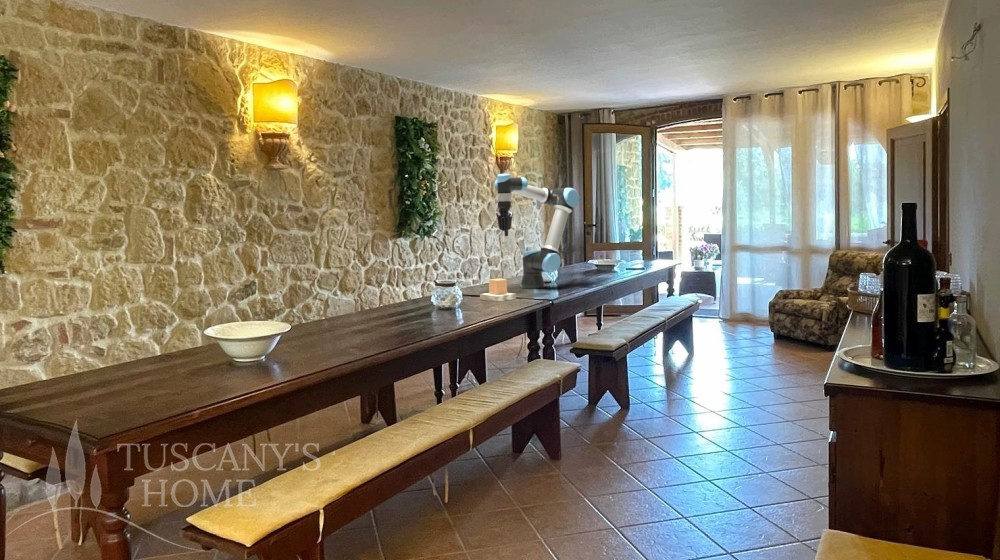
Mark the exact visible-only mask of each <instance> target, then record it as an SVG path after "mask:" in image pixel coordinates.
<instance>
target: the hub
mask: <svg viewBox="0 0 1000 560" xmlns="http://www.w3.org/2000/svg"><path fill="white" fill-rule="evenodd" d="M479 299H480V300H481V301H489V302H495V303H500V302H505V301H512V300H517V294H516V293H514V292H513V293H512V292H507V294H502V295H492V294H489V292H488V293H487V292H486V293H480V294H479Z"/></svg>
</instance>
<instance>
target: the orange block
mask: <svg viewBox="0 0 1000 560" xmlns="http://www.w3.org/2000/svg"><path fill="white" fill-rule="evenodd" d="M488 289H489V290H488V293H489V294H492V295H502V294H507V293H508V279H506V278H494V279H492V278H491V279H488Z"/></svg>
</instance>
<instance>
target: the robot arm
mask: <svg viewBox="0 0 1000 560" xmlns="http://www.w3.org/2000/svg"><path fill="white" fill-rule="evenodd" d="M528 183H529V182H528V180H527V178H526V177H518V176H517V177H511V174H510V173H499V174H497V179H496V180H495V181H494V189H495V190H496V191H497V208H498V212H496V213H495V216H496V219H497V224H498V229H499V230H501V236H502V238H501V239H502V243H508V242H509V241H508V240H509V230H511V229H512V222H513V216H514V213H513V212H511V209H510V208H511V207H512V202H511V200H512V197H511V195H512V194H513V195H517V196H522V197H525V198H529V199H532V200H535V201H538V202H539V203H541V204H544V205H547V206H550V207H551V206H552V207H553V208H554V210H555V211H554V213H553V216H552V219H551V223H550V226H549V230H548V233H547V236H546V239H545V243H544V246H542V247H540V249H535V250H526V251H524V252H523V253H522V268H523V269H522V279H521V282H520V288H522V289H544V288H545V286H546V283H545V282H544V281H545V280H544V277H543V272H544V273H555V272H556V271H557V270H559V268H560V266H561V264H562V263H561V262H562V261H561V260H562V259H561V256H560V251H559V248H560V244H561V241H562V237H563V234H564V232H565V227H566V224H567V221H568V217H569V214H570V213H572V212H573V210H574V208H575V207H578V205H579V202H580V195H579V193H578V191H577V190H576V189H574V187H573V188H572V187H560V188H547V187H542V188H541V187H537V186H534V185H529V184H528Z"/></svg>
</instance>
